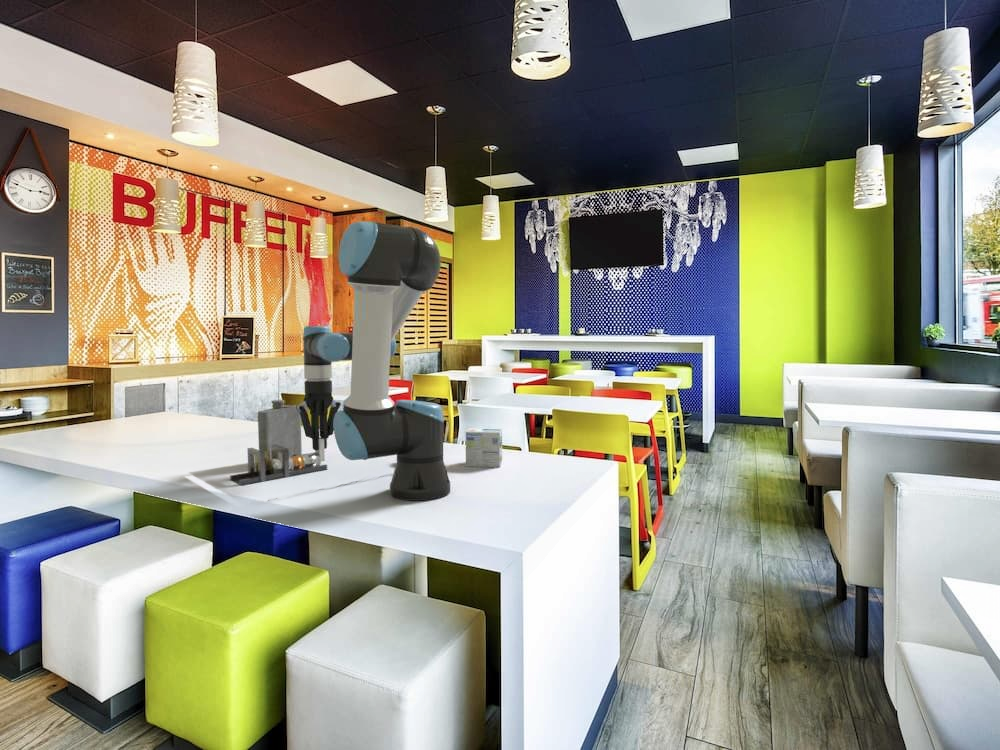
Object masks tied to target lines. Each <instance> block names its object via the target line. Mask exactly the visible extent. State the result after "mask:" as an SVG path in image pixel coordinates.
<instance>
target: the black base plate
mask: <svg viewBox="0 0 1000 750" xmlns="http://www.w3.org/2000/svg"><path fill="white" fill-rule="evenodd" d="M328 470H329V469H328V465H327V464H322V465H321V464H320V466H315V467H309V468H304V469H298V470H292V471H289V477H284V473H283V472H281V473H276V474H271V472H270V469H265V479H266V481H264V482H263V483H265V482H270V481H274V480H275V481H276V480H280V479H286V478H291V477H297V476H302V475H306V474H307V475H308V474H313V473H317V472H323V471H328ZM253 473H254V474H255V476H254V477H250V472H248V471H246V472H242V473H236V474H231V475H229V478H230V479H229V481H231V482H233V483H235V484H237V485H239V486H242V487H244V486H249V485H255V484H259V483H261V482H260V477H259V471H255V472H253ZM251 475H252V474H251Z"/></svg>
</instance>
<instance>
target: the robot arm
mask: <svg viewBox="0 0 1000 750" xmlns="http://www.w3.org/2000/svg"><path fill="white" fill-rule="evenodd" d="M337 259H338V260H337V261H338V263H339V265H338V266H339V271H340V272H341V273H342V274H343V275H345V276H346V277H347V284H348V285H349V286H350V287H351V288H352V290H353V291H354V292H353V294H354V295H353V319H352V320H353V321H352V332H331V331H332V330H331V327H330V326H328V325H306V326H305V327H304V328H303V331H302V332H303V333H302V334H303V335H302V341H303V342H302V343H303V344H302V345H303V368H304V370H303V371H304V373H303V374H304V379H305V381H304V395H305V396H304V398H303V402H302V403H301V404H296V405H297V406H296V409H297V410H298V412H299V413H300V417H301V425H302V428H303V431H304V436H305V437H307V438H311V441H312V450H314V452H317V453H318V454H319V455H320V459H321V462H325V458H326V457H325V450H326V449H327V448H328V438H329V437H330V436H332V435H333V434H334V438H335V442H336V444H337V447H338V450H339V451H340V454H341V455H342V456H343V457H344V458H345V459H347V460H349V461H358V460H363V461H367V460H370V459H374V458H375V459H377V458H383V457H388V456H389V457H391V456H396V462H395V463H396V464H395V467H394V471H393V474H392V476H391V477H392V478H391V481H390V483H389V494H390V496H391V497H393V498H396V499H398V500H399V499H400V500H405V501H428V500H435V499H439V498H443V497H445V496H448V495H449V494H450V493H451V481H450V478H449V476H448V471H447V468H446V466H445V462H444V423H445V421H444V412H443V408H442V406H441V405H440V404H438V403H434V402H429V401H422V400H411V399H397V400H396V402H395V401H394V400H392V398H391V397H390V396H389V387H390V365H391V359H392V358H393V357H394V355H395V353H396V350H397V341H396V338H395V337H396V336H397V334H399V331H400V330H401V328H402V327H403V325H404V323H405V322H406V320H407V318H408V317H409V315H411V312H412V311H413V309H414V308H415V307H416V305H417V303H418V302H419V300H420V299H421V297H422V295H423V294H424V293H425V292H427V291H430V290H431V289H432V288H433V286H434V284H435V283H436V281H437V279H438V277H439V274H440V272H441V271H440V270H441V265H442V262H441V253H440V251H439V248H438V245H437V244H436V242H435V240H434V238H432V237H431V236H430V235H429V233H427V232H426V231H424V230H422V229H420V228H419V227H413V226H404V225H403V226H402V225H395V224H389V223H382V222H375V221H354V222H352V223H351V224H349V225H348V226H347V228H346V229H345V231H344V233H343V235H342V237H341V239H340V244H339V249H338V258H337ZM339 361H340V362H341V361H351V375H350V378H351V379H350V395H349V396H348V397H347V398H346V399H344V400H343V405H342V406H343V410H339V409H340V407H341V404H342V403H341V402H339V401H336V400H335V399H334V396H333V381H332V380H331V379H332V377H333V374H332V373H333V371H332V369H333V368H332V362H339ZM307 409H308V410H309V413H308V411H307ZM328 410H329V411H328ZM309 414H310V417H309Z"/></svg>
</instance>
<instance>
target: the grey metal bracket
mask: <svg viewBox="0 0 1000 750" xmlns="http://www.w3.org/2000/svg"><path fill="white" fill-rule="evenodd" d="M246 449H247V472H250V477H254V476H255V474H254V473H253V472H255V458H254V455H255V456H257V457H258V471H259V477H260V483H265V482H267V481H266V479H265V452H262V451H260V450H259V449H257V448H254V447H247V448H246ZM278 452H281V453H282V462H283V473H284V477H287V478H290V477H289V449H288V448H285V447H282V446H279V445H276V444H274V445H271V455H272V459H277V458H278ZM251 474H252V475H251ZM264 481H265V482H264Z"/></svg>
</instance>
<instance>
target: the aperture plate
mask: <svg viewBox="0 0 1000 750" xmlns="http://www.w3.org/2000/svg"><path fill="white" fill-rule="evenodd" d="M264 452H265V469H270V468H269V463H270V451H264ZM254 464H255V471H258V457H257V456H255V455H254Z"/></svg>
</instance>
